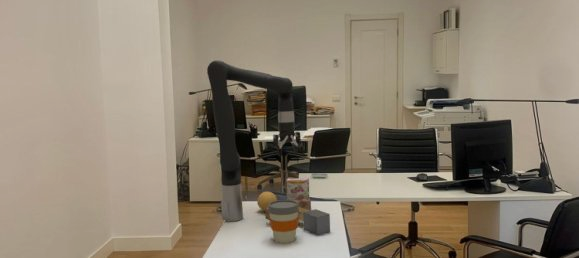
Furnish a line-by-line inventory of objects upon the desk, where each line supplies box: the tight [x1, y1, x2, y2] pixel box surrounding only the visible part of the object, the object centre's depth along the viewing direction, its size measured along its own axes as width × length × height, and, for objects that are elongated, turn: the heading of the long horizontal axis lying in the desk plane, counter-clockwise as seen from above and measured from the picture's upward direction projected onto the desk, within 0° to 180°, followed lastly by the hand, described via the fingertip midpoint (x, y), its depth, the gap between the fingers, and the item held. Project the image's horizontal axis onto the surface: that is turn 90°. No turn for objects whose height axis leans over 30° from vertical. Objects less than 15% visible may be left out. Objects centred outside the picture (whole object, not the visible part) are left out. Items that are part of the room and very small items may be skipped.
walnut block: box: [264, 199, 312, 221], centre depth 218 cm, size 23×4×8 cm, turn 125°
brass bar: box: [298, 207, 310, 223], centre depth 211 cm, size 4×21×4 cm, turn 35°
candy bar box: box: [285, 177, 310, 201], centre depth 230 cm, size 11×5×16 cm, turn 84°
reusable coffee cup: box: [268, 199, 299, 244], centre depth 193 cm, size 13×13×15 cm
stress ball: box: [256, 191, 278, 212], centre depth 233 cm, size 10×10×10 cm
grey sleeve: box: [303, 208, 331, 237], centre depth 201 cm, size 7×10×8 cm
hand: (287, 155), depth 220 cm, fingers open, 8 cm apart
